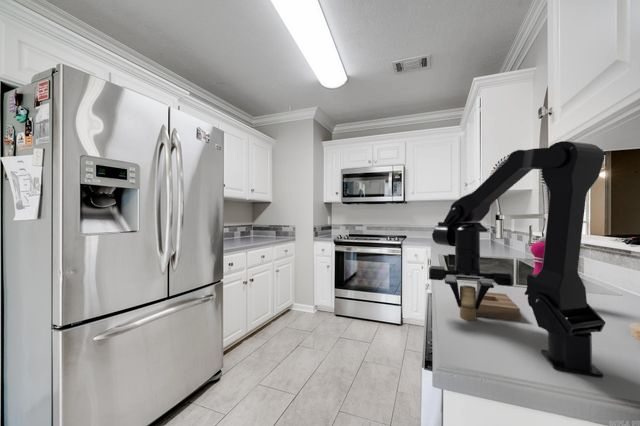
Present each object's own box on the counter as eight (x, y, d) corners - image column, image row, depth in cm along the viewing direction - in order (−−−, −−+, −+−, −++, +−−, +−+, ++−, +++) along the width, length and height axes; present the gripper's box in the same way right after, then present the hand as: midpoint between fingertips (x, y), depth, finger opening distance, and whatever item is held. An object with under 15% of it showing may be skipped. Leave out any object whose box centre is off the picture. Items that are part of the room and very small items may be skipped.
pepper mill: (564, 304, 80) (563, 238, 80) (537, 303, 82) (536, 237, 82) (549, 297, 87) (548, 236, 87) (524, 296, 89) (523, 236, 89)
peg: (477, 321, 67) (476, 289, 67) (460, 319, 69) (460, 288, 69) (474, 316, 71) (474, 286, 71) (459, 314, 72) (459, 284, 72)
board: (519, 320, 68) (519, 308, 68) (466, 313, 72) (466, 302, 72) (505, 303, 81) (505, 293, 81) (461, 299, 85) (461, 289, 85)
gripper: (501, 246, 74) (502, 303, 73) (429, 244, 81) (429, 295, 81) (513, 251, 63) (514, 317, 63) (428, 248, 71) (429, 307, 70)
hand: (467, 308), depth 70 cm, fingers closed on peg, 4 cm apart
